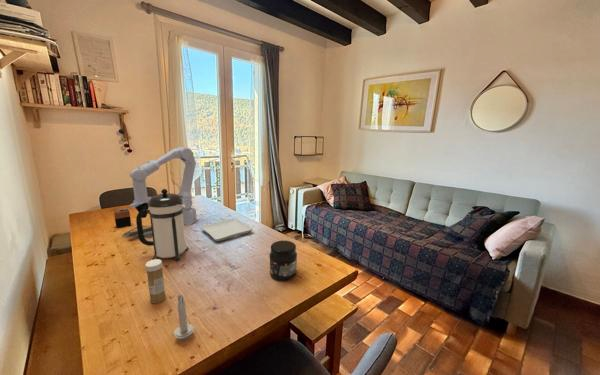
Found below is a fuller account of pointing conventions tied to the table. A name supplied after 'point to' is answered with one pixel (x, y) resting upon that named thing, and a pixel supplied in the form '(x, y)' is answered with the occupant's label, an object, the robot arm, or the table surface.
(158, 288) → the sprinkles bottle
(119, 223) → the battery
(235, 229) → the salad plate
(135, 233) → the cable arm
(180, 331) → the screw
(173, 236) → the coffee press
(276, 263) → the supplement container
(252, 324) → the table surface
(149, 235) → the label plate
